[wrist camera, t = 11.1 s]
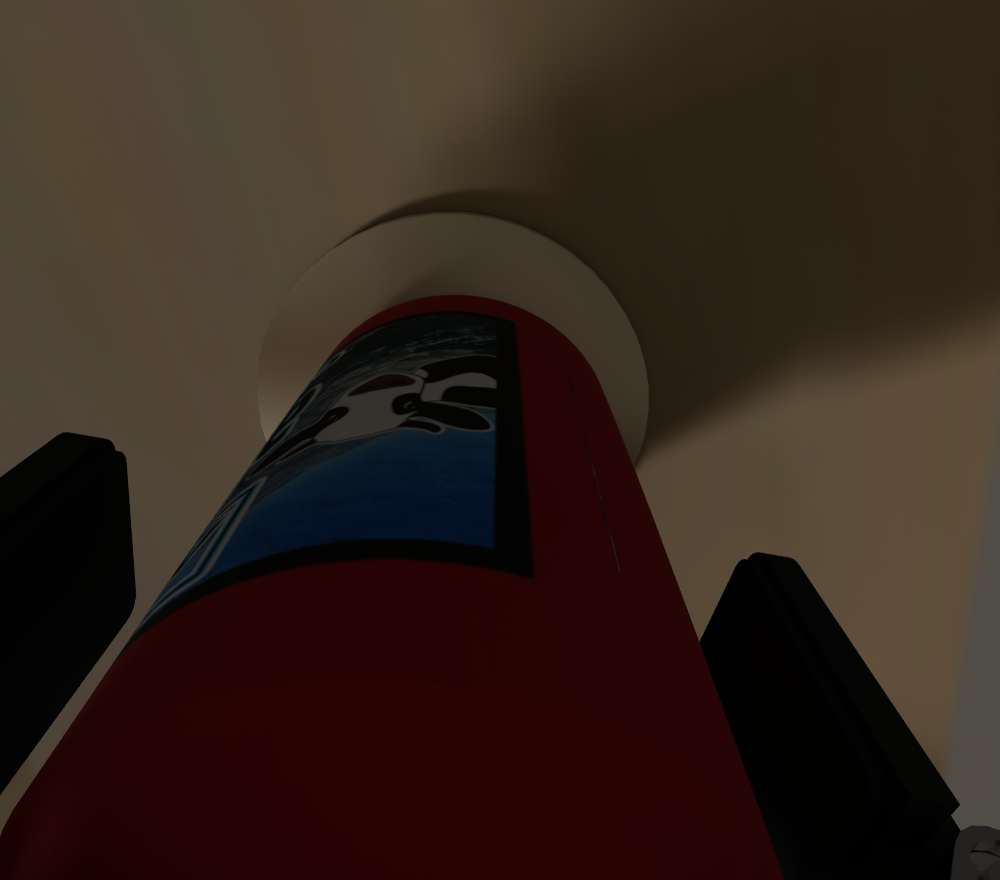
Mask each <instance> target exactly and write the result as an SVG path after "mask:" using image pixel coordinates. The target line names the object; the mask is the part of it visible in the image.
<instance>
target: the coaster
mask: <svg viewBox="0 0 1000 880" xmlns="http://www.w3.org/2000/svg"><path fill="white" fill-rule="evenodd" d="M438 295H471V296H479V297H485V298H491V299H495V300H499V301H503V302H506V303H509V304H512V305H514V306H517V307H520V308H522V309H524V310H526V311H529V312H531V313H533V314H534V315H536V316H538V317H540V318H542V319H543V320H545V321H546V322H548V323H549V324H551V325H552V326H554V327H555V328H556V329H557V330H559V331H560V332H561V333H562V334H564V335H565V336H566V337H567V338H568V339H569V340H570V341H571V342H572V343H573V344H574V345H575V346H576V347H577V348H578V349H579V351H580V352H581V353H582V354H583V355H584V357H585V358H586V360H587V361H588V363H589V364H590V365H591V367H592V369H593V370H594V372H595V374H596V376H597V378H598V380H599V382H600V384H601V387H602V389H603V391H604V394H605V396H606V399H607V401H608V404H609V406H610V409H611V411H612V413H613V416H614V418H615V421H616V423H617V426H618V428H619V431H620V433H621V436H622V438H623V441H624V443H625V446H626V449H627V451H628V454H629V456H630V459H631V461H632V464H633V467H634V466H635V463H636V461H637V459H638V457H639V454H640V451H641V448H642V444H643V440H644V437H645V433H646V427H647V420H648V412H649V385H648V378H647V372H646V366H645V361H644V357H643V354H642V351H641V348H640V345H639V341H638V338H637V336H636V334H635V332H634V330H633V328H632V326H631V324H630V322H629V319H628V317H627V315H626V314H625V312H624V311H623V309H622V307H621V306H620V304H619V303H618V301H617V300H616V299H615V297H614V296H613V294H612V293H611V291H610V290H609V288H608V287H607V285H606V284H605V283H604V282H603V281H602V280H601V279H600V278H599V277H598V275H597V274H596V273H595V272H594V271H593V270H592V269H591V268H590V267H589V266H588V265H587V264H586V263H585V262H583V261H582V260H581V259H580V258H579V257H577V256H576V255H575V254H574V253H573V252H572V251H570V250H569V249H567V248H566V247H564V246H563V245H561V244H559V243H558V242H556V241H555V240H553V239H552V238H550V237H548V236H547V235H545V234H543V233H540V232H538V231H536V230H534V229H531V228H529V227H527V226H525V225H522V224H520V223H517V222H513V221H510V220H506V219H503V218H500V217H496V216H492V215H485V214H479V213H472V212H465V211H435V212H427V213H419V214H411V215H406V216H403V217H399V218H396V219H392V220H388V221H385V222H381V223H379V224H377V225H375V226H372V227H370V228H368V229H365V230H363V231H361V232H358V233H356V234H355V235H353V236H352V237H350V238H348V239H347V240H345V241H344V242H342V243H340V244H339V245H337V246H336V247H334V248H333V249H332V250H330V251H329V252H328V253H327V254H326V255H325V256H323V257H322V258H321V259H320V260H319V261H317V262H316V263H315V264H314V265H313V266H312V267H310V268H309V269H308V270H307V271H306V272H305V273H304V274H303V276H302V277H301V278H300V279H299V280H298V281H297V282H296V284H295V285H294V286H293V287H292V288H291V289H290V291H289V292H288V294H287V295H286V297H285V299H284V300H283V302H282V303H281V305H280V306H279V308H278V310H277V311H276V313H275V315H274V318H273V320H272V322H271V325H270V327H269V329H268V331H267V334H266V337H265V341H264V344H263V348H262V352H261V356H260V361H259V370H258V379H257V392H258V409H259V414H260V419H261V425H262V430H263V433H264V436H265V439H266V442H267V441H268V439H269V438H270V436H271V435H272V434H273V432H274V431H275V429H276V428H277V427H278V425H279V424H280V422H281V421H282V419H283V418H284V417H285V415H286V414H287V412H288V411H289V410H290V408H291V407H292V406H293V404H294V403H295V402H296V400H297V399H298V397H299V396H300V395H301V393H302V392H303V391H304V389H305V388H306V387H307V385H308V384H309V383H310V381H311V380H312V379H313V377H314V376H315V375H316V373H317V372H318V370H319V369H320V368H321V366H322V365H323V364H324V362H325V361H326V360H327V358H328V357H329V356H330V354H331V353H332V352H333V350H334V349H335V348H336V347H337V345H338V344H339V343H340V342H341V341H342V340H343V339H344V338H345V337H346V336H347V335H348V334H349V333H350V332H351V331H353V330H354V329H355V328H356V327H358V326H359V325H360V324H362V323H363V322H364V321H366V320H368V319H369V318H371V317H372V316H374V315H376V314H378V313H380V312H382V311H384V310H386V309H388V308H390V307H393V306H395V305H398V304H401V303H404V302H407V301H411V300H414V299H419V298H424V297H429V296H438Z"/></svg>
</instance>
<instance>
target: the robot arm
mask: <svg viewBox="0 0 1000 880" xmlns="http://www.w3.org/2000/svg"><path fill="white" fill-rule="evenodd" d="M135 599H136V586H135V572H134V558H133V544H132V530H131V516H130V503H129V489H128V475H127V462H126V457H125V455H124V454H123V453H122V452H120V451H116V450H115V446H114V445H113V443H112V442H111V441H110V440H108V439H104V438H98V437H92V436H86V435H81V434H75V433H69V432H65V433H61V434H59V435H57V436H56V437H55V438H53V439H52V440H51V441H49V442H48V443H46V444H45V445H44V446H42V447H41V448H40V449H38V450H37V451H36V452H34V453H33V454H31V455H30V456H29V457H27V458H26V459H25V460H23V461H22V462H21V463H19V464H18V465H16V466H15V467H14V468H12V469H11V470H10V471H8V472H7V473H6V474H4V475H3V476H1V477H0V795H1V793H2V792H3V790H4V789H5V788H6V786H7V785H8V784H9V782H10V781H11V779H12V778H13V777H14V775H15V774H16V772H17V771H18V770H19V768H20V767H21V766H22V764H23V763H24V762H25V760H26V759H27V758H28V756H29V755H30V753H31V752H32V751H33V749H34V748H35V747H36V745H37V744H38V742H39V741H40V740H41V738H42V737H43V736H44V734H45V733H46V731H47V730H48V729H49V727H50V726H51V725H52V723H53V722H54V720H55V719H56V718H57V716H58V715H59V714H60V712H61V711H62V709H63V708H64V707H65V705H66V704H67V703H68V701H69V700H70V698H71V697H72V696H73V694H74V693H75V692H76V690H77V689H78V687H79V686H80V685H81V683H82V682H83V681H84V679H85V678H86V676H87V675H88V674H89V672H90V671H91V670H92V668H93V667H94V665H95V664H96V663H97V661H98V660H99V659H100V657H101V656H102V655H103V653H104V652H105V650H106V649H107V648H108V646H109V645H110V644H111V642H112V641H113V639H114V638H115V637H116V635H117V634H118V633H119V631H120V630H121V628H122V627H123V626H124V624H125V623H126V622H127V620H128V618H129V617H130V615H131V613H132V610H133V608H134V604H135ZM699 643H700V645H701V648H702V651H703V654H704V657H705V659H706V662H707V665H708V668H709V670H710V673H711V676H712V679H713V682H714V684H715V687H716V690H717V693H718V696H719V698H720V701H721V704H722V707H723V710H724V712H725V715H726V718H727V721H728V723H729V726H730V729H731V732H732V735H733V737H734V740H735V743H736V746H737V749H738V751H739V754H740V757H741V760H742V762H743V765H744V768H745V771H746V774H747V776H748V779H749V782H750V785H751V788H752V790H753V793H754V796H755V799H756V802H757V804H758V807H759V810H760V813H761V815H762V818H763V821H764V824H765V827H766V829H767V832H768V835H769V838H770V841H771V843H772V846H773V849H774V852H775V854H776V857H777V860H778V863H779V866H780V869H781V873H782V876H783V879H784V880H1000V830H997V829H994V828H991V827H988V826H970V827H968V828H966V829H964V830H962V831H960V829H959V827H958V826H957V824H956V823H955V821H954V820H953V818H952V817H951V814H953V812H954V811H955V810H956V809H957V808H958V807H959V806H960V804H959V802H958V801H957V799H956V798H955V796H954V795H953V793H952V792H951V790H950V789H949V788H948V786H947V785H946V783H945V782H944V780H943V779H942V777H941V776H940V774H939V773H938V771H937V770H936V768H935V767H934V765H933V764H932V762H931V761H930V759H929V758H928V756H927V755H926V753H925V752H924V750H923V749H922V747H921V746H920V744H919V743H918V741H917V740H916V738H915V737H914V735H913V734H912V732H911V731H910V729H909V728H908V726H907V725H906V723H905V722H904V720H903V719H902V717H901V716H900V714H899V713H898V711H897V710H896V708H895V707H894V705H893V704H892V703H891V701H890V700H889V698H888V697H887V695H886V694H885V692H884V691H883V689H882V688H881V686H880V685H879V683H878V682H877V680H876V679H875V677H874V676H873V674H872V673H871V671H870V670H869V668H868V667H867V665H866V664H865V662H864V661H863V659H862V658H861V656H860V655H859V653H858V652H857V650H856V649H855V647H854V646H853V644H852V643H851V641H850V640H849V638H848V637H847V635H846V634H845V632H844V631H843V629H842V628H841V626H840V625H839V623H838V622H837V621H836V619H835V618H834V616H833V615H832V613H831V612H830V610H829V609H828V607H827V606H826V604H825V603H824V601H823V600H822V598H821V597H820V595H819V594H818V592H817V591H816V589H815V588H814V586H813V585H812V583H811V582H810V580H809V579H808V577H807V576H806V574H805V573H804V571H803V570H802V568H801V567H800V565H799V564H798V563H797V562H796V561H795V560H794V559H792V558H789V557H783V556H777V555H772V554H766V553H760V552H757V553H753V554H752V555H751V556H750V557H749V558H748V560H747V559H743V560H741V561H739V562H738V564H737V565H736V567H735V569H734V571H733V573H732V575H731V578H730V580H729V582H728V584H727V586H726V588H725V590H724V592H723V594H722V596H721V598H720V600H719V602H718V605H717V607H716V609H715V611H714V613H713V615H712V617H711V619H710V621H709V623H708V625H707V627H706V629H705V632H704V634H703V636H702V638H701V640H700V642H699Z"/></svg>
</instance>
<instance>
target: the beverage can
mask: <svg viewBox="0 0 1000 880" xmlns="http://www.w3.org/2000/svg"><path fill="white" fill-rule="evenodd" d="M0 880H784V879H783V876H782V873H781V869H780V866H779V863H778V860H777V857H776V854H775V852H774V849H773V846H772V843H771V841H770V838H769V835H768V832H767V829H766V827H765V824H764V821H763V818H762V815H761V813H760V810H759V807H758V804H757V802H756V799H755V796H754V793H753V790H752V788H751V785H750V782H749V779H748V776H747V774H746V771H745V768H744V765H743V762H742V760H741V757H740V754H739V751H738V749H737V746H736V743H735V740H734V737H733V735H732V732H731V729H730V726H729V723H728V721H727V718H726V715H725V712H724V710H723V707H722V704H721V701H720V698H719V696H718V693H717V690H716V687H715V684H714V682H713V679H712V676H711V673H710V670H709V668H708V665H707V662H706V659H705V657H704V654H703V651H702V648H701V645H700V643H699V640H698V637H697V634H696V632H695V629H694V626H693V624H692V621H691V618H690V616H689V613H688V610H687V607H686V605H685V602H684V599H683V597H682V594H681V591H680V589H679V586H678V583H677V581H676V578H675V575H674V573H673V570H672V567H671V564H670V562H669V559H668V556H667V554H666V551H665V548H664V546H663V543H662V540H661V538H660V535H659V532H658V529H657V527H656V524H655V521H654V519H653V516H652V513H651V511H650V508H649V505H648V503H647V500H646V498H645V495H644V492H643V490H642V487H641V485H640V482H639V480H638V477H637V474H636V472H635V469H634V467H633V464H632V461H631V459H630V456H629V454H628V451H627V449H626V446H625V443H624V441H623V438H622V436H621V433H620V431H619V428H618V426H617V423H616V421H615V418H614V416H613V413H612V411H611V409H610V406H609V404H608V401H607V399H606V396H605V394H604V391H603V389H602V387H601V384H600V382H599V380H598V378H597V376H596V374H595V372H594V370H593V369H592V367H591V365H590V364H589V363H588V361H587V360H586V358H585V357H584V355H583V354H582V353H581V352H580V351H579V349H578V348H577V347H576V346H575V345H574V344H573V343H572V342H571V341H570V340H569V339H568V338H567V337H566V336H565V335H564V334H562V333H561V332H560V331H559V330H557V329H556V328H555V327H554V326H552V325H551V324H549V323H548V322H546V321H545V320H543V319H542V318H540V317H538V316H536V315H534V314H533V313H531V312H529V311H526V310H524V309H522V308H520V307H517V306H514V305H512V304H509V303H506V302H503V301H499V300H495V299H491V298H485V297H479V296H471V295H438V296H429V297H424V298H419V299H414V300H411V301H407V302H404V303H401V304H398V305H395V306H393V307H390V308H388V309H386V310H384V311H382V312H380V313H378V314H376V315H374V316H372V317H371V318H369V319H368V320H366V321H364V322H363V323H362V324H360V325H359V326H358V327H356V328H355V329H354V330H353V331H351V332H350V333H349V334H348V335H347V336H346V337H345V338H344V339H343V340H342V341H341V342H340V343H339V344H338V345H337V347H336V348H335V349H334V350H333V352H332V353H331V354H330V356H329V357H328V358H327V360H326V361H325V362H324V364H323V365H322V366H321V368H320V369H319V370H318V372H317V373H316V375H315V376H314V377H313V379H312V380H311V381H310V383H309V384H308V385H307V387H306V388H305V389H304V391H303V392H302V393H301V395H300V396H299V397H298V399H297V400H296V402H295V403H294V404H293V406H292V407H291V408H290V410H289V411H288V412H287V414H286V415H285V417H284V418H283V419H282V421H281V422H280V424H279V425H278V427H277V428H276V429H275V431H274V432H273V434H272V435H271V436H270V438H269V439H268V441H267V442H266V444H265V445H264V446H263V448H262V449H261V451H260V452H259V453H258V455H257V456H256V458H255V459H254V461H253V462H252V463H251V465H250V466H249V468H248V469H247V471H246V472H245V473H244V475H243V476H242V478H241V479H240V480H239V482H238V483H237V485H236V486H235V488H234V489H233V490H232V492H231V493H230V495H229V496H228V498H227V499H226V500H225V502H224V503H223V505H222V506H221V507H220V509H219V510H218V512H217V513H216V515H215V516H214V517H213V519H212V520H211V522H210V523H209V525H208V526H207V527H206V529H205V530H204V532H203V533H202V534H201V536H200V537H199V539H198V540H197V542H196V543H195V544H194V546H193V547H192V549H191V550H190V552H189V553H188V554H187V556H186V557H185V559H184V560H183V561H182V563H181V564H180V566H179V567H178V569H177V570H176V572H175V573H174V574H173V576H172V577H171V579H170V580H169V582H168V583H167V585H166V586H165V588H164V589H163V591H162V592H161V594H160V595H159V596H158V598H157V599H156V601H155V602H154V604H153V605H152V607H151V608H150V610H149V611H148V613H147V614H146V616H145V617H144V618H143V620H142V621H141V623H140V624H139V626H138V627H137V629H136V630H135V632H134V633H133V635H132V636H131V638H130V639H129V641H128V642H127V643H126V645H125V646H124V648H123V649H122V651H121V652H120V654H119V655H118V657H117V658H116V660H115V661H114V663H113V664H112V665H111V667H110V668H109V670H108V671H107V673H106V674H105V676H104V677H103V679H102V680H101V682H100V683H99V685H98V686H97V687H96V689H95V690H94V692H93V693H92V695H91V696H90V698H89V699H88V701H87V702H86V704H85V705H84V707H83V708H82V710H81V711H80V712H79V714H78V715H77V717H76V718H75V720H74V721H73V723H72V724H71V726H70V727H69V729H68V730H67V732H66V733H65V734H64V736H63V737H62V739H61V740H60V742H59V743H58V745H57V746H56V748H55V749H54V751H53V752H52V754H51V755H50V756H49V758H48V759H47V761H46V762H45V764H44V765H43V767H42V768H41V770H40V771H39V773H38V774H37V776H36V777H35V779H34V780H33V781H32V783H31V785H30V786H29V787H28V789H27V790H26V792H25V793H24V795H23V796H22V798H21V799H20V801H19V802H18V803H17V805H16V806H15V808H14V809H13V811H12V813H11V815H10V817H9V819H8V820H7V823H6V824H5V826H4V828H3V830H2V833H1V836H0Z"/></svg>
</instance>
